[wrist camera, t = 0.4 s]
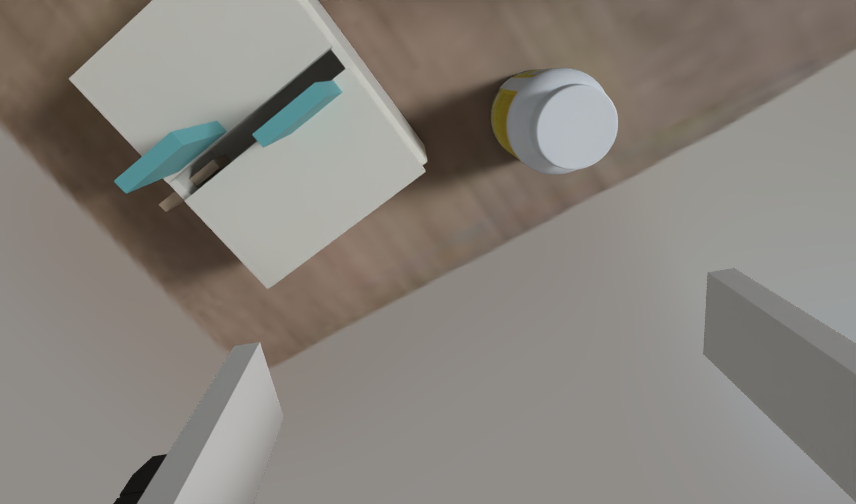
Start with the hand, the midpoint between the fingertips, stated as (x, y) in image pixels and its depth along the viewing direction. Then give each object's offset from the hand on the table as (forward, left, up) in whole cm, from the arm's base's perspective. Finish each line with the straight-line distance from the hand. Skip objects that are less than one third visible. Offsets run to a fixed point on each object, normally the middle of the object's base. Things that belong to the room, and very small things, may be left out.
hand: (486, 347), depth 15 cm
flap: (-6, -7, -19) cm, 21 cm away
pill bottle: (0, +8, -27) cm, 28 cm away
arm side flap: (-15, -7, -19) cm, 25 cm away
